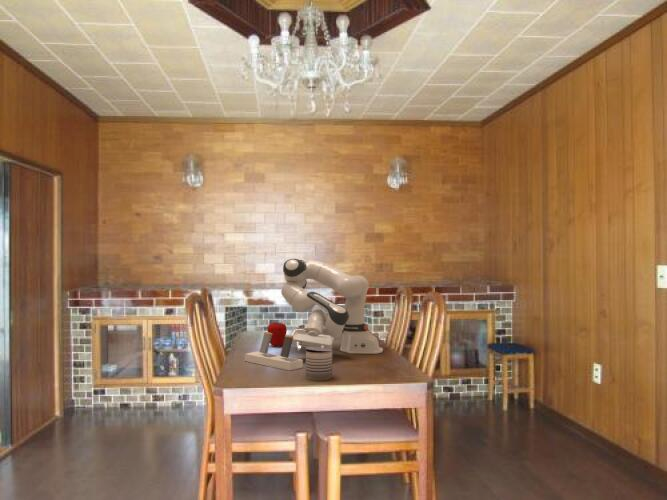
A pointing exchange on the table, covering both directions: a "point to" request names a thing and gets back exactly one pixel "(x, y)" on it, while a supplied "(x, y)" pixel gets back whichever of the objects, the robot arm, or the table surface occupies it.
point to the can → (318, 363)
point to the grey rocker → (265, 342)
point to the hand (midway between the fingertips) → (308, 351)
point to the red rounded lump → (277, 333)
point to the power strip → (274, 360)
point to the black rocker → (286, 346)
